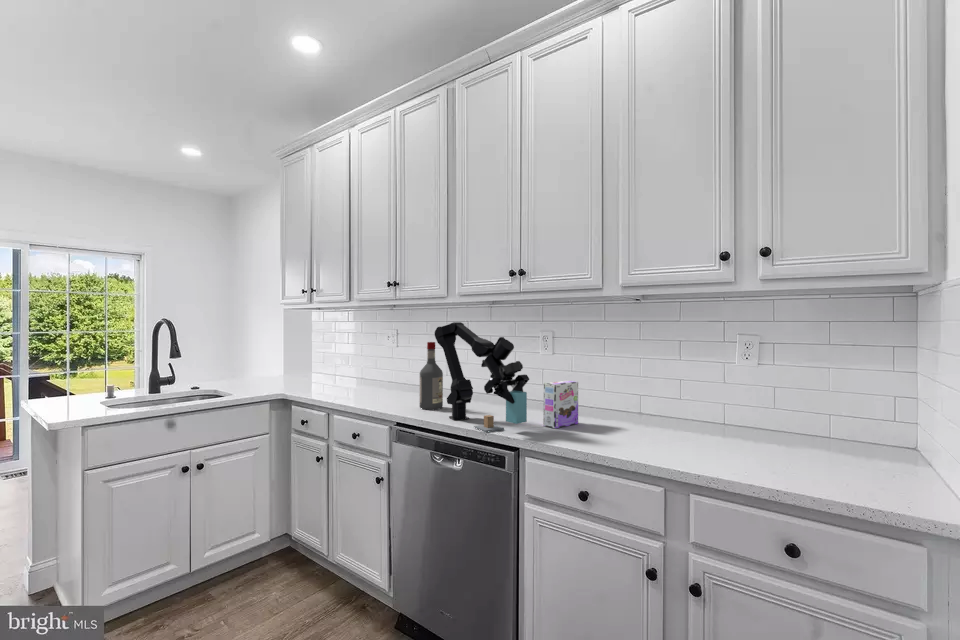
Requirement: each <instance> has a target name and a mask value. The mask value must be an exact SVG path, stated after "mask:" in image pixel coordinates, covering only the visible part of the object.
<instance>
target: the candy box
mask: <svg viewBox="0 0 960 640" xmlns="http://www.w3.org/2000/svg"><path fill="white" fill-rule="evenodd" d="M542 423H543V427H546V428H551V429H553V430H554V429H559V428H563V427H569V426H570V427H571V426H573V425H574V426H575V425H578V424H579V381H575V380H574V381H572V380H561V381H551V382H544V383H543V422H542Z"/></svg>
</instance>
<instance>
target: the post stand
mask: <svg viewBox="0 0 960 640" xmlns="http://www.w3.org/2000/svg"><path fill="white" fill-rule="evenodd" d="M494 418H495V416H494V415H491V414H487V415H484V416H483V424H480V425H473V428H474V427H475V428H477V429H480V430H482V431H484V432H483V433H485V432H486V433H489V432H488V431H493V432H496V431H495V430H500V431H504V430H505V427H503V426H501V425H497V424H494V423H495V422H494V420H495V419H494ZM477 429H476V430H477ZM480 430H479V431H480ZM482 431H481V432H482Z"/></svg>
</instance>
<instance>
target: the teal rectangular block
mask: <svg viewBox="0 0 960 640" xmlns="http://www.w3.org/2000/svg"><path fill="white" fill-rule="evenodd" d="M509 392H510V394H511V395H512V397H513V399H514V401H515V402H514V404H512V403H510V402H509V401H507V400H505V422H507V423H510V424H516V425H517V424H521V423H527V421H528V419H527V415H528V414H527V407H528V406H527V405H528V404H527V399H528V397H527V396H528V395H527V394H528V393H527V391H523V392H522V391H512V390H509Z"/></svg>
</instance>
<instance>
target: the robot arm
mask: <svg viewBox="0 0 960 640" xmlns="http://www.w3.org/2000/svg"><path fill="white" fill-rule="evenodd" d="M457 336H458V337H459V338H461V339H462V340H463V341H464V342H466V344H467V345H469V346H470V347H471V351H472V352H473V353H474V354H475V356H476V357H478V358H484V359H482V360H481V361H482V362H481V365H480V366H481V368H487V369H488V371H489V373H490V378H489V379H488V381H487V382H486V383H485V384H484V385H483V386H484V387H483V389H484V391H485V393H486V394H493V395H497V396H498V397H500V398H502V399H504V400H505V401H506V400H507V401H509V402H510V403H512V404H514V402H515V401H514V399H513V397H512V395H511V394H510V392H509V391H510V390H509V388H508V387H511V388H512V389H511V391H522V392H524V386H526V384H527V383H528V381H530V378H529V376H528V375H527V374H525V373H524V374H518V375H517V376H516V374H517V373H518V372H521V371H522V370H523V368H524V365H523V364H522V362H521V361H520V360H516V361H514V362H509V363H507V364H506V365H505V364H504V362H503V361H505V360H506V359H508V357H509V356H510V354H511V353H512V351H514V349H515V347H514V346H515V345H514V344H513V342H511V341H510V340H509V339H506V338H505V337H504V336H500V337H498V339H497V341H496V342H495V344H494V342H493V341H491V340H488V339H486V338H482V337H479V336H478V335H477V334H476V333H475V332H473V331H472V330H471V329H470V328H468V327H467V326H466V325H465V324H464V323H463V322H460V321H459V322H458V321H456V322H454V321H453V322H451V323H449V324H446V325H442V326H437V327H436V329H435V330H434V338H435V340H436V343H437V344H438V345H439V346H441V348H442V349H443V354H444V356H445V360H446V363H447V368H448V370H449V374H450V377H451V384H450V393H449V395H448V396H447V397H446V401H447V404H448V405H451V415H449V416H448V418H449V419H451V420H454V421H460V420H459V419H463V420H470V418H469V417H468V416H467V404H468V403H469V404H470V403H471V402H472V398H473V394H474V392H473V389H474V388H473V385H472V381H471V379H466V377H465V376H464V373H463V369H462V366H461V363H460V359H459V356H458V353H457V349H456V345H455V344H456V340H457ZM515 376H516V377H515Z"/></svg>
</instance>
